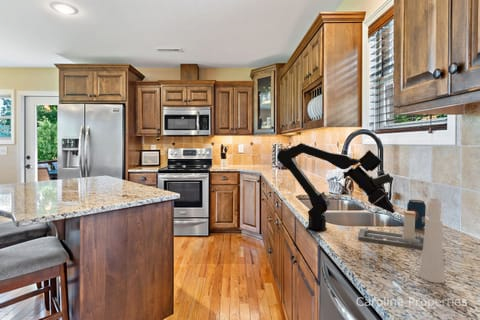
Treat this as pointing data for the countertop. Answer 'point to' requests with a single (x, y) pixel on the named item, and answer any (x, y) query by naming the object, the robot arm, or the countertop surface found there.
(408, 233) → the fader
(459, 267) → the countertop surface
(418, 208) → the soda can
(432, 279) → the cosmetic bottle
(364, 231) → the grey slider track
